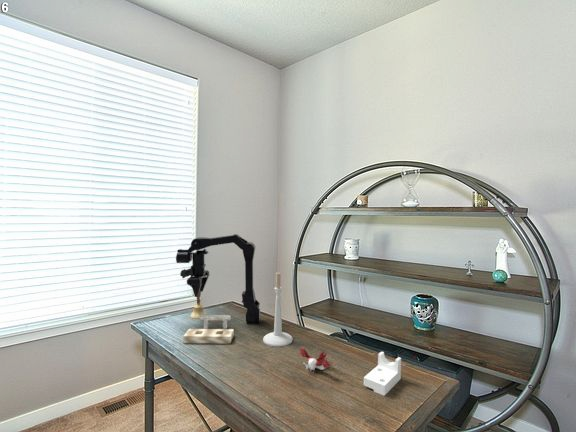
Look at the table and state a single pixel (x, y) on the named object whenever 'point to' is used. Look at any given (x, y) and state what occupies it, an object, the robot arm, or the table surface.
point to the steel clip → (215, 317)
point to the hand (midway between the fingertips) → (198, 294)
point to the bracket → (383, 375)
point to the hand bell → (198, 309)
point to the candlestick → (278, 322)
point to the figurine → (315, 360)
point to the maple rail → (209, 336)
